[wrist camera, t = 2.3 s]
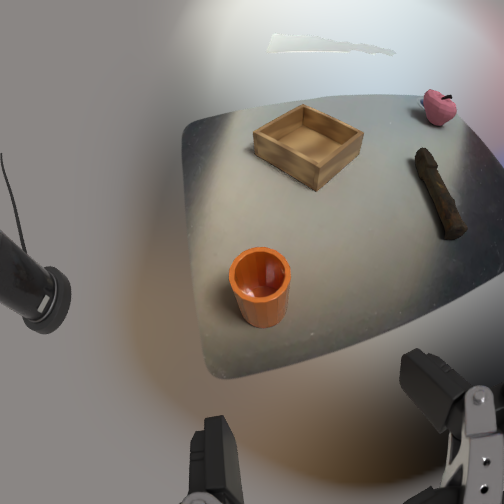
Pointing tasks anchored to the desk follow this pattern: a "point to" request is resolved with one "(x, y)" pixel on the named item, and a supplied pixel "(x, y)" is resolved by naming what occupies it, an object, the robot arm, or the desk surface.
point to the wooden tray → (308, 145)
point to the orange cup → (261, 285)
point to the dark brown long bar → (439, 195)
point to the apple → (438, 107)
